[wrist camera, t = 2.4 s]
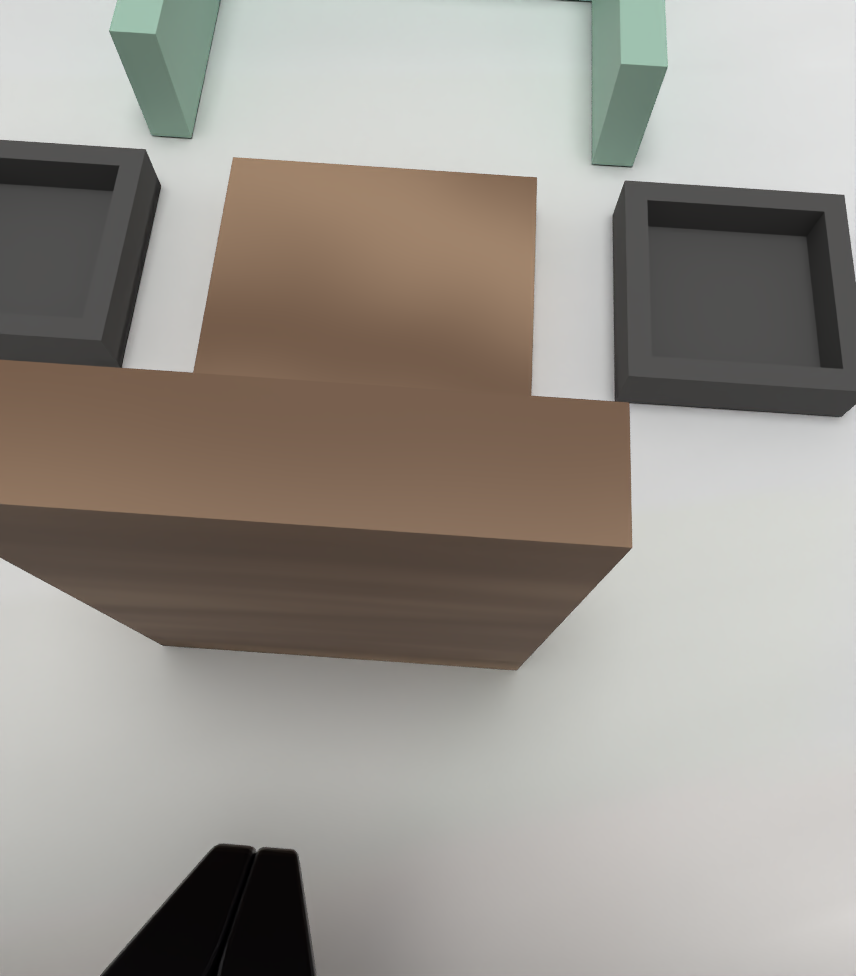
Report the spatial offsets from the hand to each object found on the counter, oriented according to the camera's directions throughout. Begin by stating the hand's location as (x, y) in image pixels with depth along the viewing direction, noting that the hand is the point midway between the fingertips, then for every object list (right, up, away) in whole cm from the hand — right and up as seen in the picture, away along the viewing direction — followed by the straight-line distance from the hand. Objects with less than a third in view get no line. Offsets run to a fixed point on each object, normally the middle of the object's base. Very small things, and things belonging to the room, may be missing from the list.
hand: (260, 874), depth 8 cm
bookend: (0, +6, +10) cm, 11 cm away
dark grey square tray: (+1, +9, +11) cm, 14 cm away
